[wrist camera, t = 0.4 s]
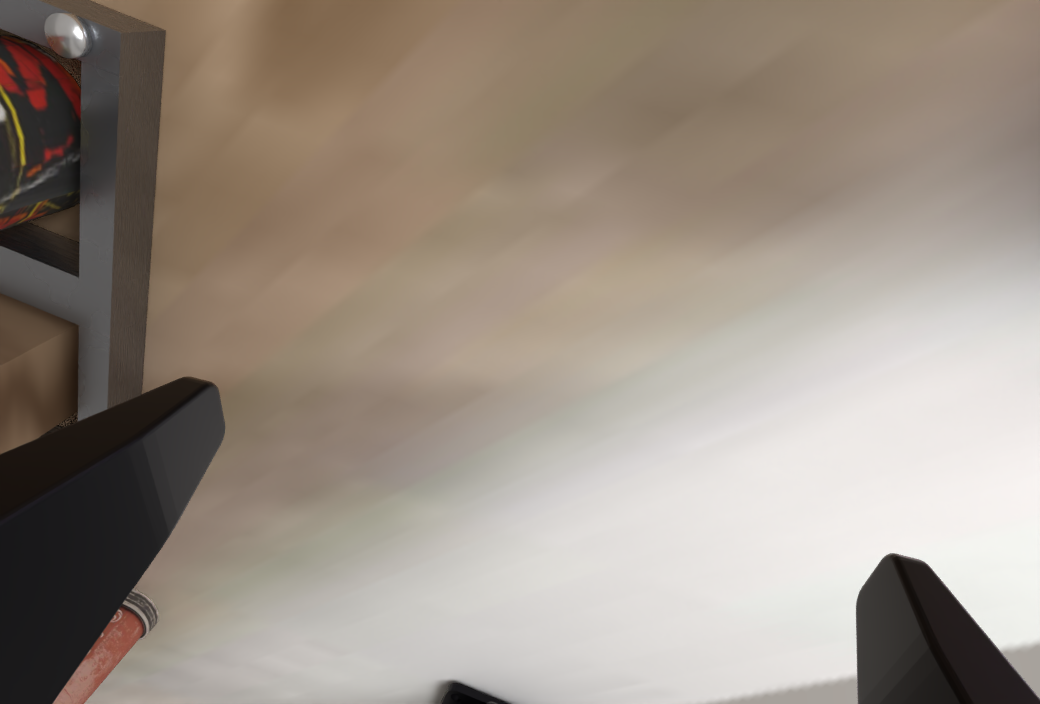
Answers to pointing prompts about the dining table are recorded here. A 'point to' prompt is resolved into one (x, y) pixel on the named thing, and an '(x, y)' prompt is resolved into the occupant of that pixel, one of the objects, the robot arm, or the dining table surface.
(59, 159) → the deodorant
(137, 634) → the lighter
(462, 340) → the dining table surface
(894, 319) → the dining table surface
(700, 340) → the dining table surface
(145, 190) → the grey tray
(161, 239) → the dining table surface
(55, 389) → the walnut block
